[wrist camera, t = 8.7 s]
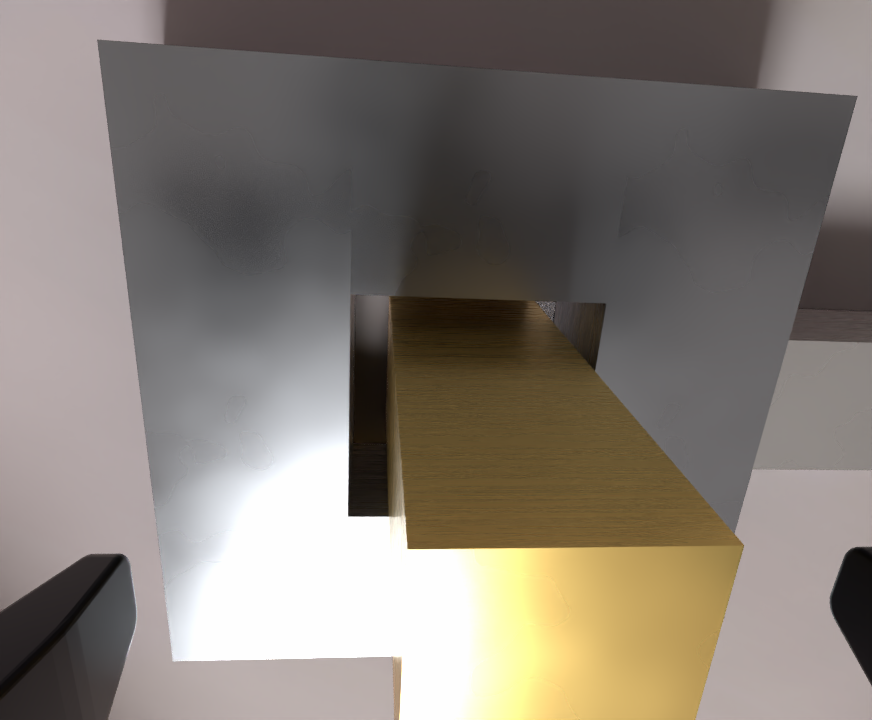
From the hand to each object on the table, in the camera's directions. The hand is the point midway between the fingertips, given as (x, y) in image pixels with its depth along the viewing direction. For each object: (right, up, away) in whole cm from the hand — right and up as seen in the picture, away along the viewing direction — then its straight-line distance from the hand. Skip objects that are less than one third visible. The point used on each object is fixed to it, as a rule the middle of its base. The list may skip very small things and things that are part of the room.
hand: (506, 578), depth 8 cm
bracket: (+2, +3, +7) cm, 8 cm away
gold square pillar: (0, +3, +7) cm, 8 cm away
